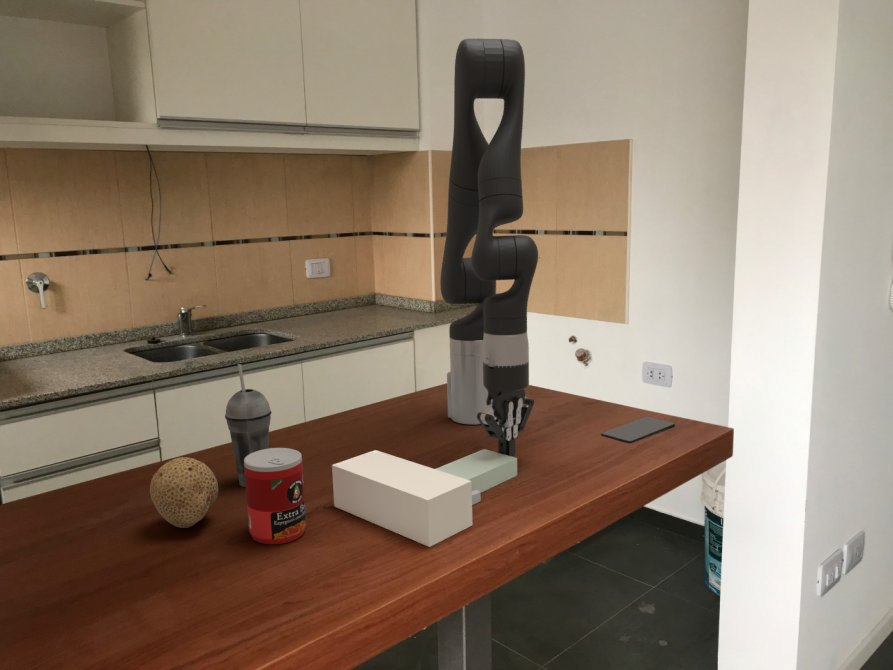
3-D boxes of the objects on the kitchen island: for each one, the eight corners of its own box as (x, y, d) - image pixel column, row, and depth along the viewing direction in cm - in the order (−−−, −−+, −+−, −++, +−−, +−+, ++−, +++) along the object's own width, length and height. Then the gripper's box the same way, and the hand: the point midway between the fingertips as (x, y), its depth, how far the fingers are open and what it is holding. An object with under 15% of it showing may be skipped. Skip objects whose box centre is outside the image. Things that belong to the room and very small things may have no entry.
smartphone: (599, 433, 138) (646, 416, 148) (599, 437, 138) (646, 420, 148) (630, 441, 133) (676, 423, 142) (630, 446, 133) (676, 427, 143)
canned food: (279, 550, 95) (273, 471, 93) (236, 537, 100) (230, 460, 98) (318, 528, 102) (314, 453, 100) (277, 516, 106) (272, 444, 104)
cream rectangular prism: (334, 506, 109) (331, 465, 108) (409, 476, 120) (407, 438, 119) (429, 547, 95) (428, 500, 94) (504, 509, 106) (503, 466, 105)
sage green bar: (417, 494, 112) (417, 476, 112) (484, 465, 124) (484, 449, 123) (451, 506, 108) (450, 487, 107) (517, 475, 119) (517, 458, 119)
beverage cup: (285, 477, 121) (277, 359, 117) (256, 493, 114) (247, 369, 111) (250, 471, 124) (241, 356, 120) (220, 486, 117) (210, 366, 114)
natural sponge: (184, 508, 109) (178, 445, 108) (234, 515, 106) (228, 450, 105) (140, 534, 101) (133, 466, 99) (193, 543, 98) (186, 472, 96)
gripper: (512, 349, 126) (513, 444, 129) (461, 363, 117) (464, 465, 120) (548, 354, 121) (548, 453, 124) (498, 369, 112) (499, 476, 115)
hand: (506, 459), depth 122 cm, fingers closed
